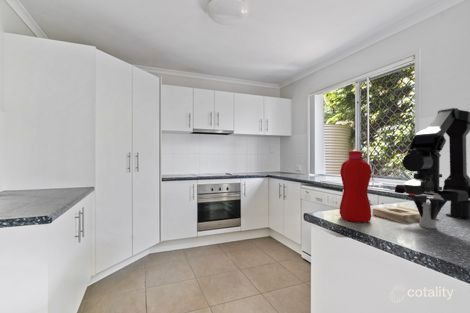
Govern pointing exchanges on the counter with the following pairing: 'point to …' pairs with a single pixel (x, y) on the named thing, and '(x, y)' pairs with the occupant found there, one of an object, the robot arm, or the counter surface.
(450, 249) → the counter surface
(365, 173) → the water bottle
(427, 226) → the rook chess piece
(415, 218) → the socket block
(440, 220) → the counter surface
